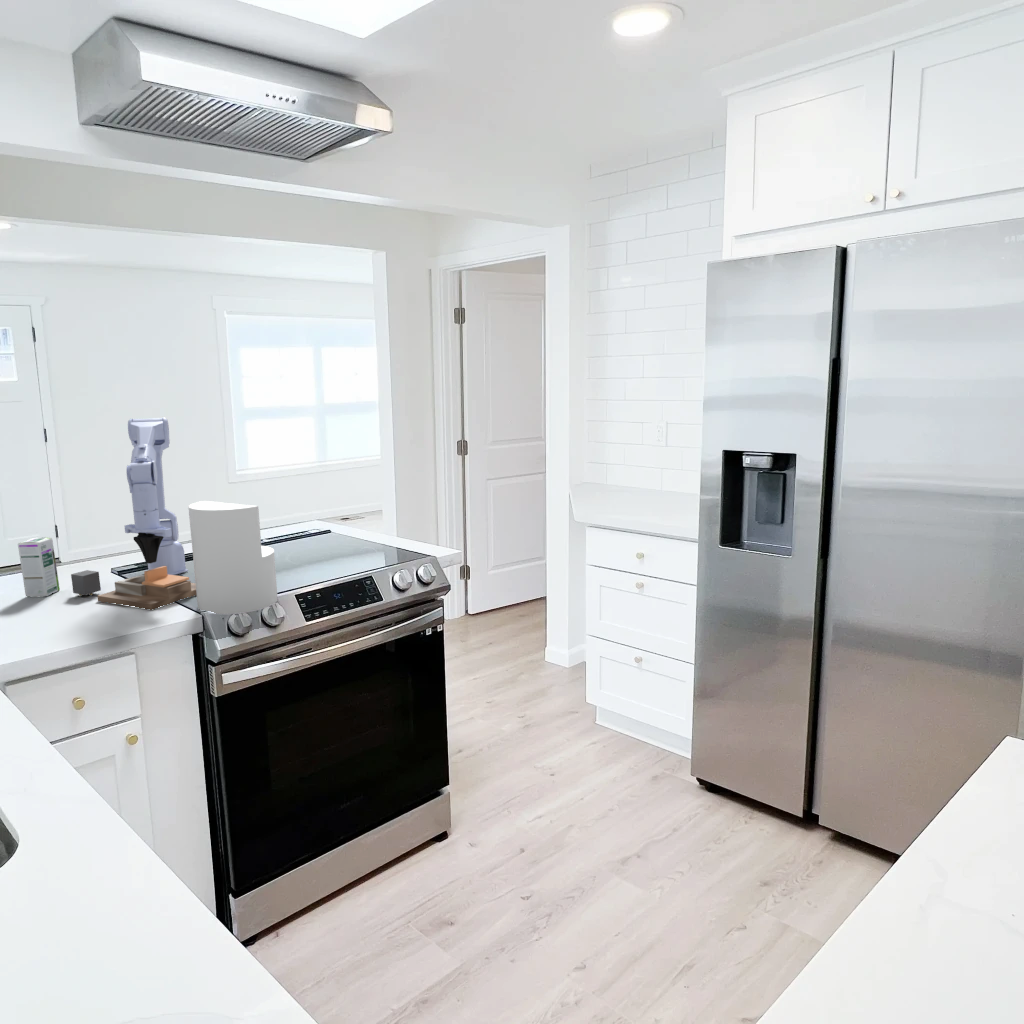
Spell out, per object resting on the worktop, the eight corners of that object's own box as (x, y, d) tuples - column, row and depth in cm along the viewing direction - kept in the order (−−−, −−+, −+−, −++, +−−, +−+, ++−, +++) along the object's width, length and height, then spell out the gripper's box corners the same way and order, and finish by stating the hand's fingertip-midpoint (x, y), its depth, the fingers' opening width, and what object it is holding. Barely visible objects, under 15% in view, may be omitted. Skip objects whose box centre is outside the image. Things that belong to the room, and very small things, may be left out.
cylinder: (230, 619, 181) (221, 513, 176) (181, 606, 191) (171, 505, 186) (293, 598, 196) (286, 500, 191) (245, 588, 206) (238, 494, 202)
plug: (83, 590, 206) (81, 569, 205) (101, 593, 203) (98, 571, 202) (67, 595, 202) (65, 573, 201) (85, 598, 199) (82, 576, 198)
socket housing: (157, 583, 212) (156, 569, 211) (209, 590, 204) (207, 575, 203) (98, 601, 196) (96, 586, 195) (151, 610, 188) (149, 594, 187)
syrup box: (47, 596, 201) (39, 541, 198) (24, 597, 201) (17, 542, 198) (60, 590, 207) (53, 537, 204) (38, 590, 207) (31, 537, 204)
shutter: (168, 576, 203) (167, 565, 202) (189, 579, 199) (188, 567, 199) (142, 584, 196) (140, 572, 195) (163, 587, 192) (162, 575, 192)
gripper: (111, 510, 196) (117, 563, 198) (153, 514, 189) (158, 568, 192) (136, 505, 202) (141, 557, 204) (176, 509, 196) (181, 562, 198)
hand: (151, 562), depth 199 cm, fingers closed
